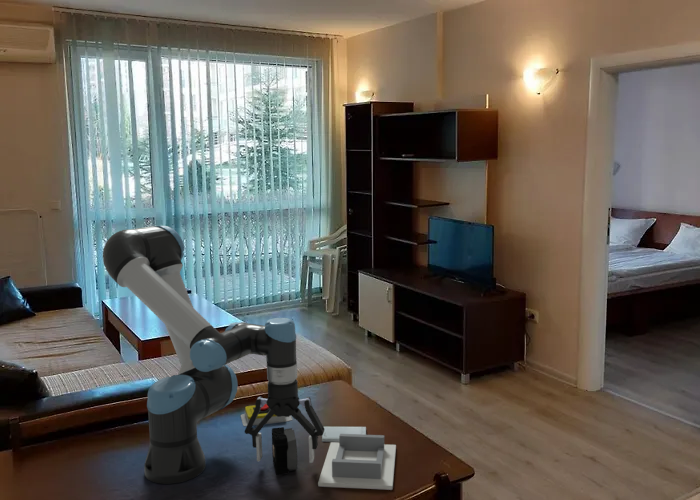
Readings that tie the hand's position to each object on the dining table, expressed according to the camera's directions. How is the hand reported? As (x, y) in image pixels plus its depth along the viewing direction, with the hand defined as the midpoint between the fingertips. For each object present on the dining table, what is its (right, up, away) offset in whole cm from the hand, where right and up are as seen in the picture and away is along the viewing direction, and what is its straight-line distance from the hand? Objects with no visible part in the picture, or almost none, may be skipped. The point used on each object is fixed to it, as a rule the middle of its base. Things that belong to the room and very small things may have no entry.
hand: (285, 459), depth 162 cm
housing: (+19, -2, +1) cm, 19 cm away
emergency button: (-9, +1, +33) cm, 34 cm away
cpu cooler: (0, -3, +1) cm, 3 cm away
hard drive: (+15, 0, +20) cm, 25 cm away
